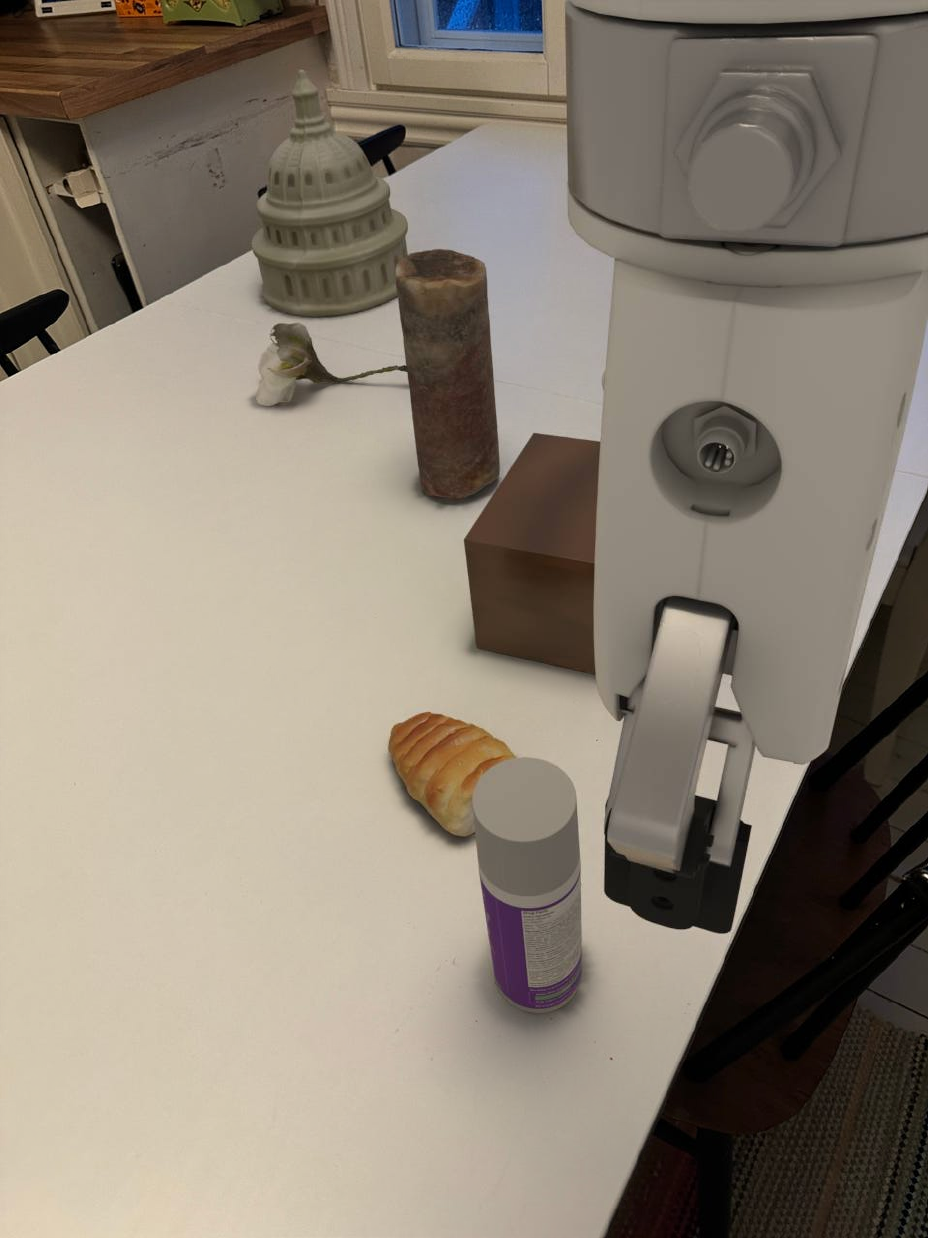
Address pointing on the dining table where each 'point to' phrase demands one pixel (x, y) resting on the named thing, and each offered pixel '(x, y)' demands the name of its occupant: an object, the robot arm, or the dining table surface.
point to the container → (530, 881)
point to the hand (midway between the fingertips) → (707, 765)
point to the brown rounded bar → (449, 370)
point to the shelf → (538, 556)
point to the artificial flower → (295, 365)
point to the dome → (325, 221)
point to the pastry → (444, 765)
